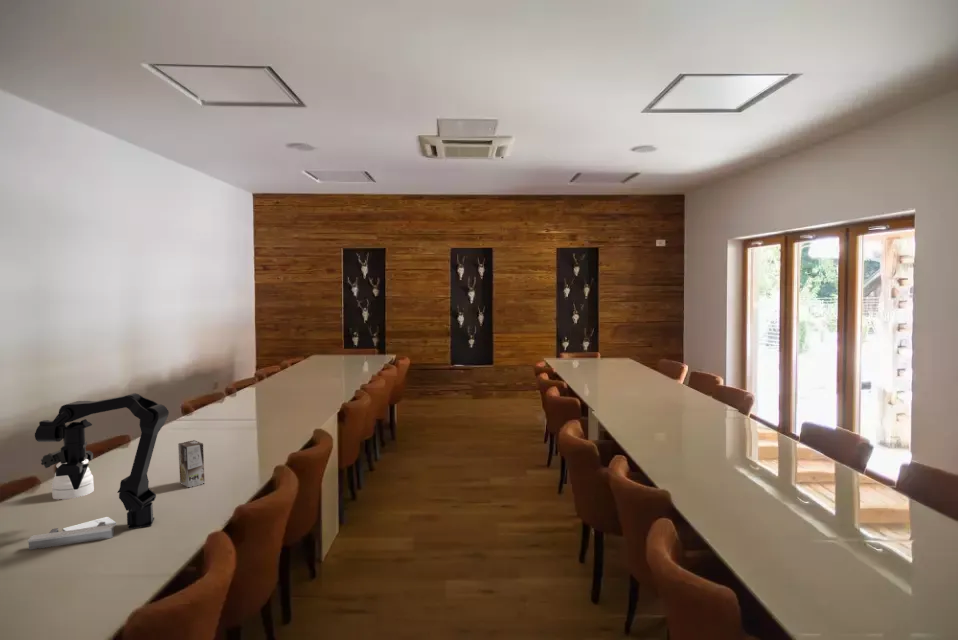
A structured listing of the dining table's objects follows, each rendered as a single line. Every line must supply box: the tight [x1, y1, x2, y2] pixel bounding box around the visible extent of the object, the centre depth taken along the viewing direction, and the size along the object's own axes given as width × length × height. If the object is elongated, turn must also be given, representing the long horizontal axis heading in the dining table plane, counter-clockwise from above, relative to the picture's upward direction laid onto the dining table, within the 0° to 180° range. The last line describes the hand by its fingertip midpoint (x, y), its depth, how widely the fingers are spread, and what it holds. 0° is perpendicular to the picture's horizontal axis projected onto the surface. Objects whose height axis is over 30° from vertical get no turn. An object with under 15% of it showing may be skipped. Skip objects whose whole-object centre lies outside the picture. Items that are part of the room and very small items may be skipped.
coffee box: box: [177, 439, 205, 488], centre depth 223 cm, size 9×6×16 cm
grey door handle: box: [27, 522, 115, 551], centre depth 174 cm, size 21×9×3 cm, turn 111°
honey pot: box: [51, 459, 95, 500], centre depth 214 cm, size 13×13×18 cm
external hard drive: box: [61, 516, 117, 531], centre depth 181 cm, size 2×8×12 cm
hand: (76, 489), depth 182 cm, fingers closed
